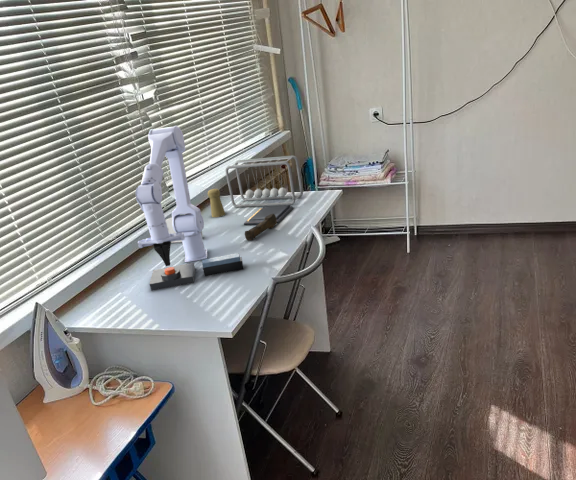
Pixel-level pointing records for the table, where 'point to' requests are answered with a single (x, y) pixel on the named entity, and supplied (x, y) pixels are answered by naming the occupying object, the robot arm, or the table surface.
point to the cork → (216, 203)
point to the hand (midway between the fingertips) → (168, 264)
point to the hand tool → (261, 227)
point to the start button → (169, 270)
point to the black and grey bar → (222, 264)
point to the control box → (172, 277)
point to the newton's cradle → (265, 192)
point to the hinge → (170, 228)
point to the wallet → (265, 211)
